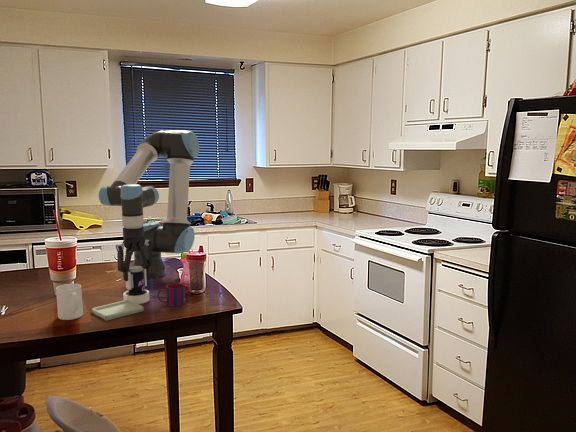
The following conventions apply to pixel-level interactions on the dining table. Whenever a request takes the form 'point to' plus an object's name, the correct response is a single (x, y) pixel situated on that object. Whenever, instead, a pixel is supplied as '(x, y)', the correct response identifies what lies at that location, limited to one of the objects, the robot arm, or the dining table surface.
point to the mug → (69, 301)
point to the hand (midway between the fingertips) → (136, 286)
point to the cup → (174, 294)
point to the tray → (117, 309)
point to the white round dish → (137, 297)
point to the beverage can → (137, 281)
